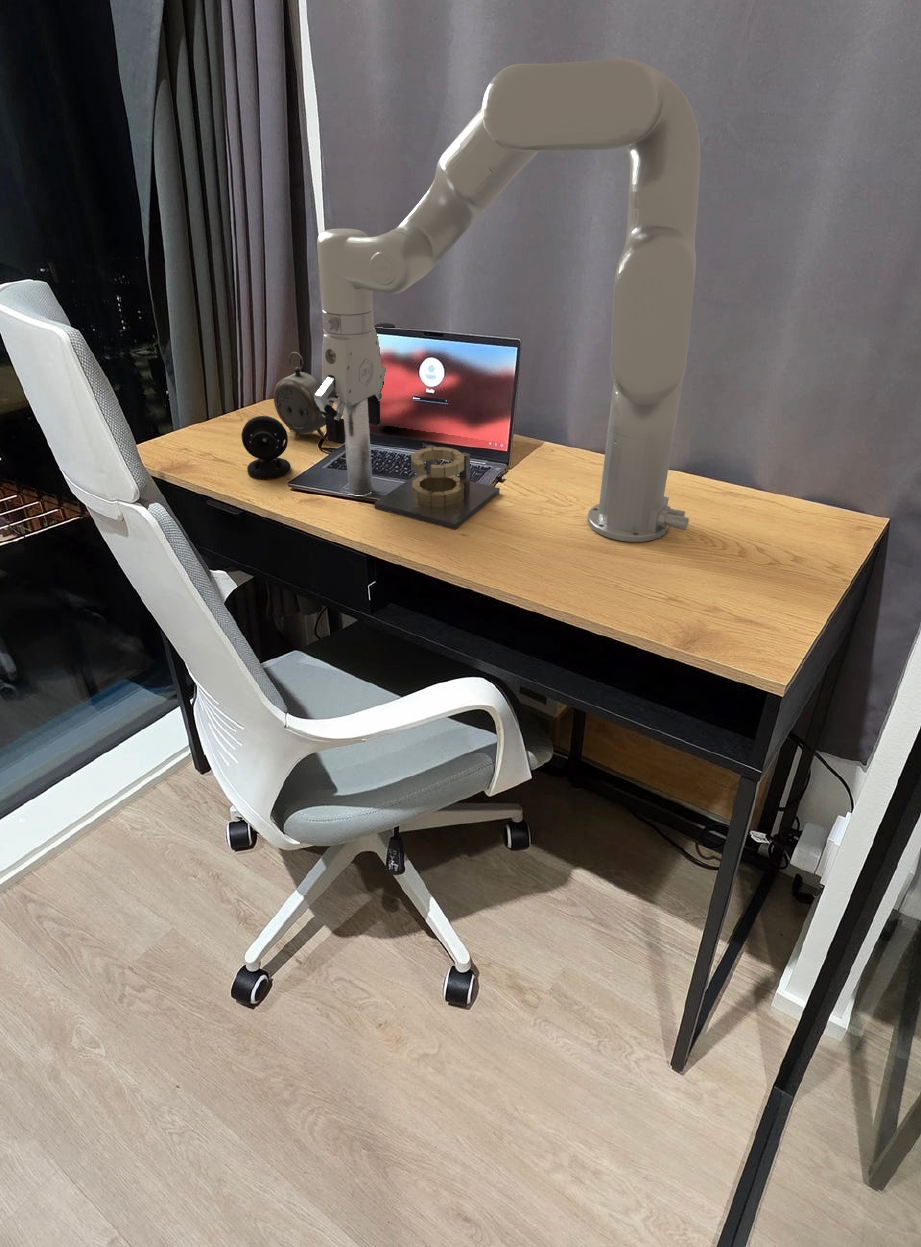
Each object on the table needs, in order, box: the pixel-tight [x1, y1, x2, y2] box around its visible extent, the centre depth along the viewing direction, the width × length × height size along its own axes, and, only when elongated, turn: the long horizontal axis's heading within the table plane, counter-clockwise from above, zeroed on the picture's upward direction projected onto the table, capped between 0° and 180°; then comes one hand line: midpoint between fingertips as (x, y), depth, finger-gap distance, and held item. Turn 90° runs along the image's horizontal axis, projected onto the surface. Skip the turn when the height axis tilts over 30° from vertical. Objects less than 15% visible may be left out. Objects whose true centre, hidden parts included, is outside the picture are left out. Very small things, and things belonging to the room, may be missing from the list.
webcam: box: [241, 415, 292, 480], centre depth 137 cm, size 8×8×10 cm
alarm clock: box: [273, 351, 327, 441], centre depth 149 cm, size 11×5×16 cm, turn 58°
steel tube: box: [342, 399, 374, 495], centre depth 128 cm, size 4×4×18 cm
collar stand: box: [374, 444, 501, 531], centre depth 128 cm, size 15×15×8 cm
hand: (354, 432), depth 128 cm, fingers open, 9 cm apart
